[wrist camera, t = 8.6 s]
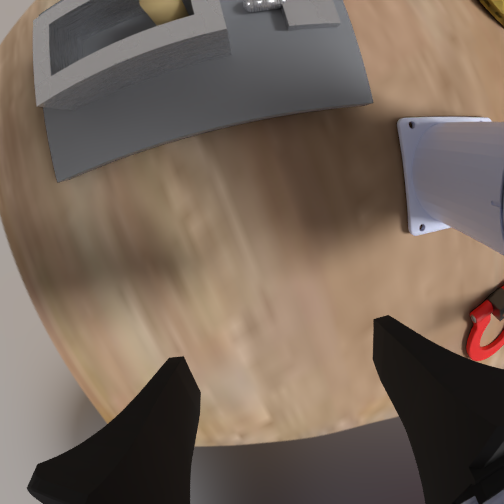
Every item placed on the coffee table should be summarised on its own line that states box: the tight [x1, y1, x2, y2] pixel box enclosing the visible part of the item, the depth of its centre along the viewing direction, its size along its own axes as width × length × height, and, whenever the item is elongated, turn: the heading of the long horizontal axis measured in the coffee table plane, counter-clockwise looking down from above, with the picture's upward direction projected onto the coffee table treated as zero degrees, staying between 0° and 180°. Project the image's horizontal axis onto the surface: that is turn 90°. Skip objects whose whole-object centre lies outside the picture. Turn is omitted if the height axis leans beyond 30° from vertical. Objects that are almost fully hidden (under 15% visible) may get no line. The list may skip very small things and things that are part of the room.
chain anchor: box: [243, 0, 341, 31], centre depth 12 cm, size 5×4×1 cm
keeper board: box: [39, 0, 373, 183], centre depth 11 cm, size 20×14×6 cm
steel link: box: [33, 0, 232, 111], centre depth 11 cm, size 10×6×4 cm, turn 102°
